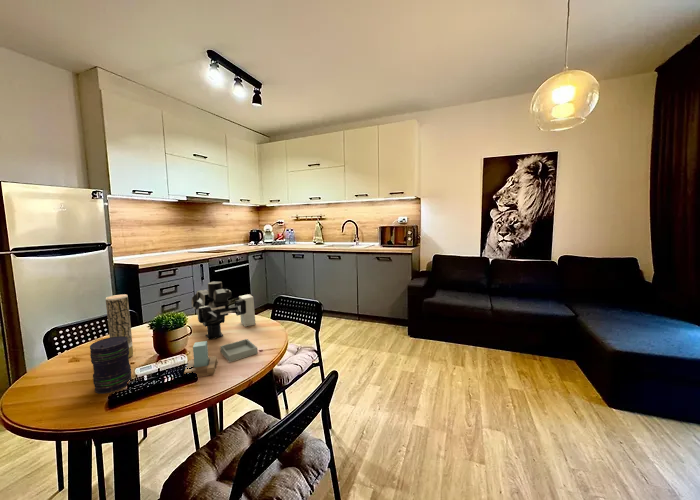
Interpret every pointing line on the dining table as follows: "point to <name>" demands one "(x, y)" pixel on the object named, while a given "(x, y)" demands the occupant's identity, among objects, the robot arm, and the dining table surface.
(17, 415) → the dining table surface
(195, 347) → the peg
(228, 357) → the tray
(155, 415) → the dining table surface
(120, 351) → the dark grey cylinder
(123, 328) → the bark covered log
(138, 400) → the dining table surface
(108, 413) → the dining table surface
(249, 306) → the skincare box
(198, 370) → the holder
